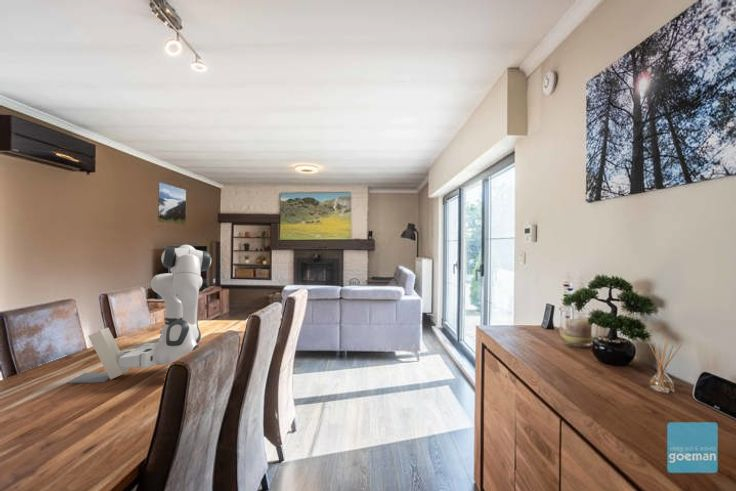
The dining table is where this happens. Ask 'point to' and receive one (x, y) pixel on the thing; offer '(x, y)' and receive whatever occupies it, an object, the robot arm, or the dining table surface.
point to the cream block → (107, 352)
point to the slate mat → (90, 378)
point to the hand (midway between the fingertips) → (120, 354)
